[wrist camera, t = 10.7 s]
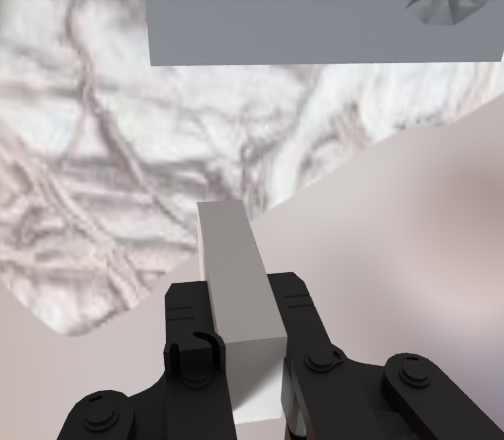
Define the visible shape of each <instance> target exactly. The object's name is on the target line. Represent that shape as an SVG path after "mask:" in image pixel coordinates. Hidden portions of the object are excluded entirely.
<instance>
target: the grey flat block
mask: <svg viewBox="0 0 504 440" xmlns="http://www.w3.org/2000/svg"><path fill="white" fill-rule="evenodd" d="M146 12H147V25H148V37H149V50H150V62H151V66H190V65H268V64H346V63H424V62H501V59H502V55H503V51H504V0H146Z"/></svg>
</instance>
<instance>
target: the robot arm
mask: <svg viewBox="0 0 504 440" xmlns="http://www.w3.org/2000/svg"><path fill="white" fill-rule="evenodd" d="M197 217H198V243H199V268H200V276H201V281H195V282H184V283H172V284H171V286H170V288H169V289H168V291H167V293H166V295H165V320H166V344H165V348H164V352H163V354H164V365H165V371H164V373H163V375H162V377H161V378H160V379H159V381H158V382H157V383H155V384H154V385H153V386H152V387H150V388H148V389H146V390H144V391H142V392H140V393H138V394H135V395H133V396H130V397H127V396H126V395H125V394H123V393H122V392H117V391H113V390H104V391H97V392H95V393H92V394H90V395H87V396H85V397H84V398H83V399H82V400H80V401H79V402H78V403H76V404H75V406H74V407H73V409H72V410H71V411H70V413H69V414H68V416H67V419H66V421H65V423H64V425H63V427H62V429H61V431H60V434H59V436H58V438H57V440H237V435H236V429H235V424H239V423H246V422H254V421H261V420H268V419H276V418H281V408H282V407H283V410H284V414H285V418H286V429H285V440H504V432H503V431H502V430H501V429H500V428H499V427H498V426H497V425H496V424H495V423H494V422H493V421H492V420H491V419H490V418H489V417H488V416H487V415H486V414H485V413H484V412H483V411H482V410H481V409H480V408H479V407H478V406H477V405H476V404H475V403H474V402H473V401H472V400H471V399H470V398H469V397H468V396H467V395H466V394H465V393H464V392H463V391H462V390H461V389H460V388H459V387H458V386H457V385H456V384H455V383H454V382H453V381H452V380H451V379H450V378H449V377H448V376H447V375H446V374H445V373H444V372H443V371H442V370H441V369H440V368H439V367H438V366H437V365H435V364H434V363H433V362H431V361H430V360H429V359H427V358H424V357H422V356H420V355H417V354H410V353H401V354H395V355H394V356H392V357H390V358H389V359H388V360H387V362H386V364H385V366H378V365H371V364H364V363H360V362H356V361H353V360H351V359H348V358H347V356H346V355H345V354H344V352H343V351H342V350H341V349H339V348H338V347H336V346H335V345H333V344H331V342H330V339H329V337H328V335H327V333H326V330H325V328H324V326H323V323H322V321H321V319H320V316H319V314H318V312H317V310H316V307H315V306H314V303H313V301H312V298H311V297H310V294H309V292H308V289H307V287H306V285H305V283H304V281H303V280H301V279H300V278H299V277H298V276H297V275H296V274H294V273H293V272H286V273H274V274H266V271H265V268H264V266H263V262H262V259H261V257H260V253H259V251H258V248H257V245H256V242H255V239H254V236H253V233H252V230H251V227H250V224H249V221H248V218H247V215H246V212H245V209H244V206H243V203H242V200H230V201H213V202H197Z"/></svg>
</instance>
